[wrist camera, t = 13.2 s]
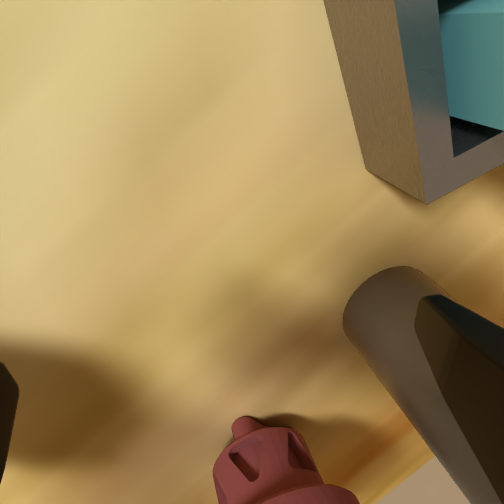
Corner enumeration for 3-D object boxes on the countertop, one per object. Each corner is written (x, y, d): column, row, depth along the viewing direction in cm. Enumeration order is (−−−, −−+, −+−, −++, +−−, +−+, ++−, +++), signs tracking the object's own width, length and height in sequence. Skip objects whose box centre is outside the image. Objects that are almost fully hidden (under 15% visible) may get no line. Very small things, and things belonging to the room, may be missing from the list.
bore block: (365, 169, 21) (426, 204, 17) (318, -20, 16) (388, -35, 12) (510, 92, 21) (605, 108, 17) (508, -117, 16) (640, -164, 12)
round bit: (339, 354, 28) (479, 561, 17) (346, 277, 25) (525, 476, 14) (420, 332, 29) (595, 511, 19) (436, 257, 26) (662, 422, 15)
